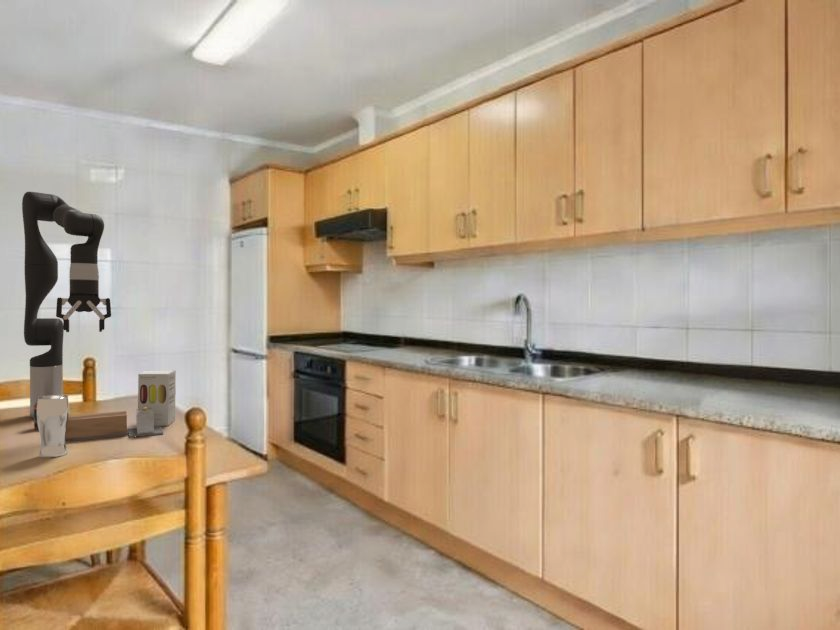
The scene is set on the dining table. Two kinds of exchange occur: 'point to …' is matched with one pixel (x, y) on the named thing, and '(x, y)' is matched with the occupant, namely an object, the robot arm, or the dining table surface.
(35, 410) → the supplement bottle
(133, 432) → the mat
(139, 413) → the drawer with brass knob
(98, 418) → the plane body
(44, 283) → the robot arm
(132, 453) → the dining table surface
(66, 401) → the beer glass
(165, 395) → the supplement box
